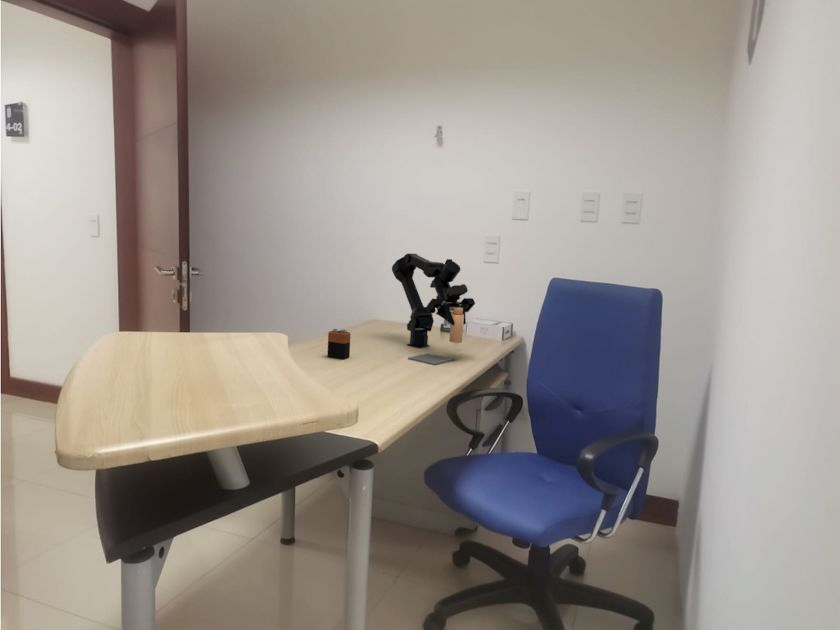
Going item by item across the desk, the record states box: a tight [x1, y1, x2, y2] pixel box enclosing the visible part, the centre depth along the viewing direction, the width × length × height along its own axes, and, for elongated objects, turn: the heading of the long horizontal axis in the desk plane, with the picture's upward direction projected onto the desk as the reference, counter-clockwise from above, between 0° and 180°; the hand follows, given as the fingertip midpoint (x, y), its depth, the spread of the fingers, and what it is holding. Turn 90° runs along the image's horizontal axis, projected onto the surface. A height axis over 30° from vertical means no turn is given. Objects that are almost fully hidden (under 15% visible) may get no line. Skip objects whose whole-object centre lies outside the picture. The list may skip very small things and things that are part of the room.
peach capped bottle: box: [449, 307, 464, 344], centre depth 208 cm, size 5×5×12 cm
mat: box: [407, 353, 455, 366], centre depth 207 cm, size 12×12×1 cm
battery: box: [326, 328, 351, 360], centre depth 201 cm, size 4×7×10 cm, turn 68°
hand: (459, 324), depth 206 cm, fingers closed on peach capped bottle, 5 cm apart
